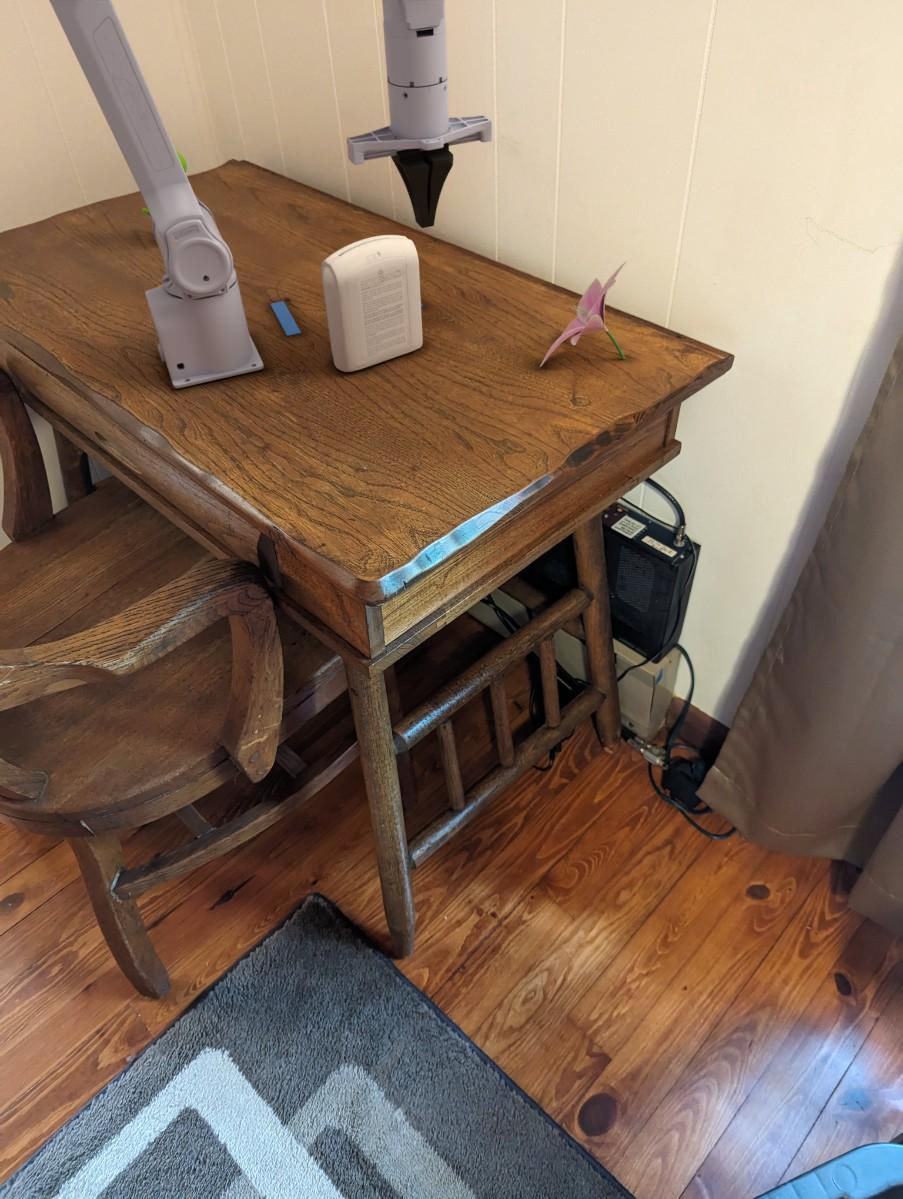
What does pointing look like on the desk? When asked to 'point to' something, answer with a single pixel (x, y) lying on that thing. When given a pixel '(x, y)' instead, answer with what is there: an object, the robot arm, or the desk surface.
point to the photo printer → (372, 301)
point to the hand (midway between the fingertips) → (424, 223)
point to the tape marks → (287, 318)
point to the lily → (589, 314)
